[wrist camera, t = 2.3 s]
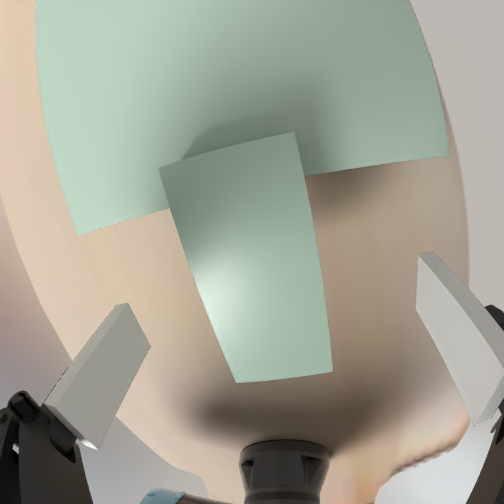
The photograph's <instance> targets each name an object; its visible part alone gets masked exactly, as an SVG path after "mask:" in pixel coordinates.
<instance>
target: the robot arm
mask: <svg viewBox="0 0 504 504" xmlns="http://www.w3.org/2000/svg"><path fill="white" fill-rule="evenodd" d="M415 309H416V311H417V313H418V315H419V316H420V318H421V320H422V321H423V323H424V325H425V327H426V329H427V330H428V332H429V334H430V336H431V338H432V339H433V341H434V343H435V345H436V347H437V349H438V351H439V353H440V354H441V356H442V358H443V360H444V362H445V364H446V366H447V368H448V370H449V372H450V374H451V377H452V379H453V381H454V383H455V385H456V387H457V389H458V391H459V394H460V396H461V398H462V400H463V403H464V405H465V407H466V410H467V412H468V414H469V417H470V419H471V422H472V424H473V426H476V425H478V424H480V423H483V422H485V421H487V420H489V419H491V418H492V417H493V415H494V413H495V412H496V411H497V409H498V408H499V410H500V412H501V414H502V415H501V416H500V418H499V419H498V421H497V422H496V423H495V425H494V426H493V428H492V430H491V433H493V432H494V430H495V429H496V431H495V434H494V437H493V440H492V443H491V446H490V449H489V452H488V455H487V458H486V460H485V463H484V465H483V468H482V470H481V472H480V475H479V477H478V479H477V482H476V484H475V486H474V488H473V491H472V492H471V494H470V496H469V499H468V500H467V503H466V504H504V313H503V311H501V310H500V309H498V308H496V307H495V306H493V305H489V306H486V307H484V306H483V305H482V304H481V303H480V302H479V300H478V299H477V298H476V297H475V296H474V294H473V293H472V292H471V291H470V290H469V289H468V288H467V287H466V285H465V284H464V283H463V282H462V281H461V280H460V279H459V278H458V277H457V276H456V274H455V273H454V272H453V271H452V270H451V269H450V268H449V267H448V266H447V265H446V264H445V263H444V262H443V261H442V260H441V259H440V258H439V257H438V256H437V255H436V254H435V253H434V252H429V253H425V254H420V255H418V274H417V292H416V305H415ZM150 347H151V345H150V343H149V342H148V340H147V338H146V336H145V334H144V333H143V331H142V329H141V327H140V325H139V323H138V321H137V319H136V317H135V315H134V314H133V312H132V310H131V308H130V306H129V304H128V303H126V304H118V305H116V306H115V307H114V309H113V310H112V311H111V312H110V314H109V315H108V316H107V317H106V319H105V320H104V321H103V322H102V324H101V325H100V326H99V327H98V329H97V330H96V331H95V333H94V334H93V335H92V337H91V338H90V339H89V340H88V342H87V343H86V344H85V346H84V347H83V348H82V350H81V351H80V352H79V354H78V355H77V356H76V358H75V359H74V361H73V362H72V363H71V365H70V366H69V367H68V368H67V369H66V371H65V372H64V373H63V375H62V377H61V378H60V379H59V381H58V383H57V384H56V385H55V386H54V388H53V389H52V391H51V392H50V394H49V395H48V397H47V398H46V400H45V401H44V403H43V404H42V405H41V407H39V406H38V405H37V403H36V402H35V401H34V400H33V399H32V397H31V396H30V395H29V394H28V393H27V392H26V391H19V392H17V393H16V394H15V395H13V397H11V399H10V400H9V402H8V405H7V407H6V408H3V409H1V410H0V504H93V501H92V498H91V495H90V491H89V487H88V483H87V480H86V476H85V471H84V467H83V463H82V458H81V454H80V449H79V446H78V444H76V443H75V441H76V439H77V438H78V439H79V440H80V441H81V442H82V443H84V444H85V445H86V446H88V447H91V448H95V449H97V450H99V448H100V446H101V444H102V442H103V439H104V437H105V435H106V433H107V431H108V429H109V427H110V425H111V423H112V421H113V419H114V417H115V415H116V413H117V411H118V409H119V407H120V405H121V403H122V401H123V399H124V397H125V395H126V393H127V391H128V389H129V387H130V385H131V383H132V381H133V379H134V377H135V376H136V374H137V372H138V370H139V368H140V366H141V364H142V362H143V360H144V358H145V357H146V355H147V353H148V351H149V349H150ZM13 444H15V445H16V446H17V447H18V448H19V454H18V453H16V452H15V451H14V450H13V449H12V448H13ZM328 468H329V453H328V451H327V450H326V449H325V448H324V447H322V446H320V445H317V444H314V443H310V442H304V441H293V440H279V441H268V442H262V443H258V444H254V445H251V446H249V447H247V448H245V449H244V450H243V451H242V452H241V454H240V460H239V469H240V473H241V477H242V481H243V485H244V489H245V502H244V504H320V491H321V489H322V486H323V483H324V480H325V477H326V474H327V471H328ZM140 504H231V503H225V502H220V501H215V500H210V499H205V498H201V497H196V496H192V495H189V494H186V493H185V492H177V491H172V490H168V489H165V488H154V489H152V490H150V491H149V492H148V493H147V494H146V496H145V497H144V498H143V500H142V501H141V503H140Z"/></svg>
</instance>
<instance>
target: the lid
mask: <svg viewBox="0 0 504 504" xmlns="http://www.w3.org/2000/svg"><path fill="white" fill-rule="evenodd" d="M36 55H37V68H38V78H39V87H40V94H41V101H42V107H43V113H44V119H45V124H46V129H47V134H48V139H49V143H50V148H51V152H52V156H53V160H54V164H55V168H56V171H57V175H58V178H59V182H60V185H61V189H62V192H63V195H64V198H65V201H66V204H67V207H68V210H69V213H70V216H71V219H72V222H73V225H74V227H75V230H76V233H77V235H78V236H79V235H82V234H85V233H88V232H91V231H94V230H97V229H101V228H104V227H107V226H110V225H113V224H116V223H120V222H123V221H126V220H130V219H133V218H136V217H140V216H143V215H147V214H150V213H154V212H157V211H161V210H165V209H168V208H170V209H171V212H172V216H173V219H174V222H175V225H176V228H177V231H178V234H179V237H180V240H181V243H182V246H183V249H184V251H185V254H186V257H187V260H188V263H189V266H190V268H191V271H192V274H193V277H194V280H195V282H196V285H197V288H198V290H199V293H200V296H201V298H202V301H203V304H204V306H205V309H206V311H207V314H208V317H209V319H210V322H211V324H212V327H213V329H214V332H215V334H216V337H217V339H218V342H219V344H220V346H221V349H222V351H223V354H224V356H225V358H226V361H227V363H228V365H229V368H230V370H231V372H232V375H233V377H234V379H235V382H236V383H245V382H257V381H268V380H277V379H286V378H294V377H302V376H309V375H315V374H322V373H328V372H333V365H332V355H331V345H330V335H329V327H328V318H327V310H326V302H325V295H324V288H323V281H322V274H321V267H320V261H319V254H318V248H317V242H316V236H315V231H314V225H313V219H312V214H311V209H310V203H309V198H308V193H307V188H306V183H305V178H304V177H307V176H313V175H318V174H324V173H329V172H335V171H341V170H347V169H353V168H360V167H366V166H373V165H380V164H387V163H394V162H402V161H410V160H419V159H428V158H437V157H448V156H450V154H449V146H448V138H447V131H446V125H445V119H444V113H443V108H442V103H441V98H440V93H439V89H438V85H437V81H436V77H435V73H434V69H433V66H432V62H431V59H430V55H429V52H428V49H427V46H426V43H425V40H424V37H423V34H422V31H421V28H420V26H419V23H418V20H417V18H416V15H415V13H414V10H413V8H412V6H411V3H410V1H409V0H36Z"/></svg>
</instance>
